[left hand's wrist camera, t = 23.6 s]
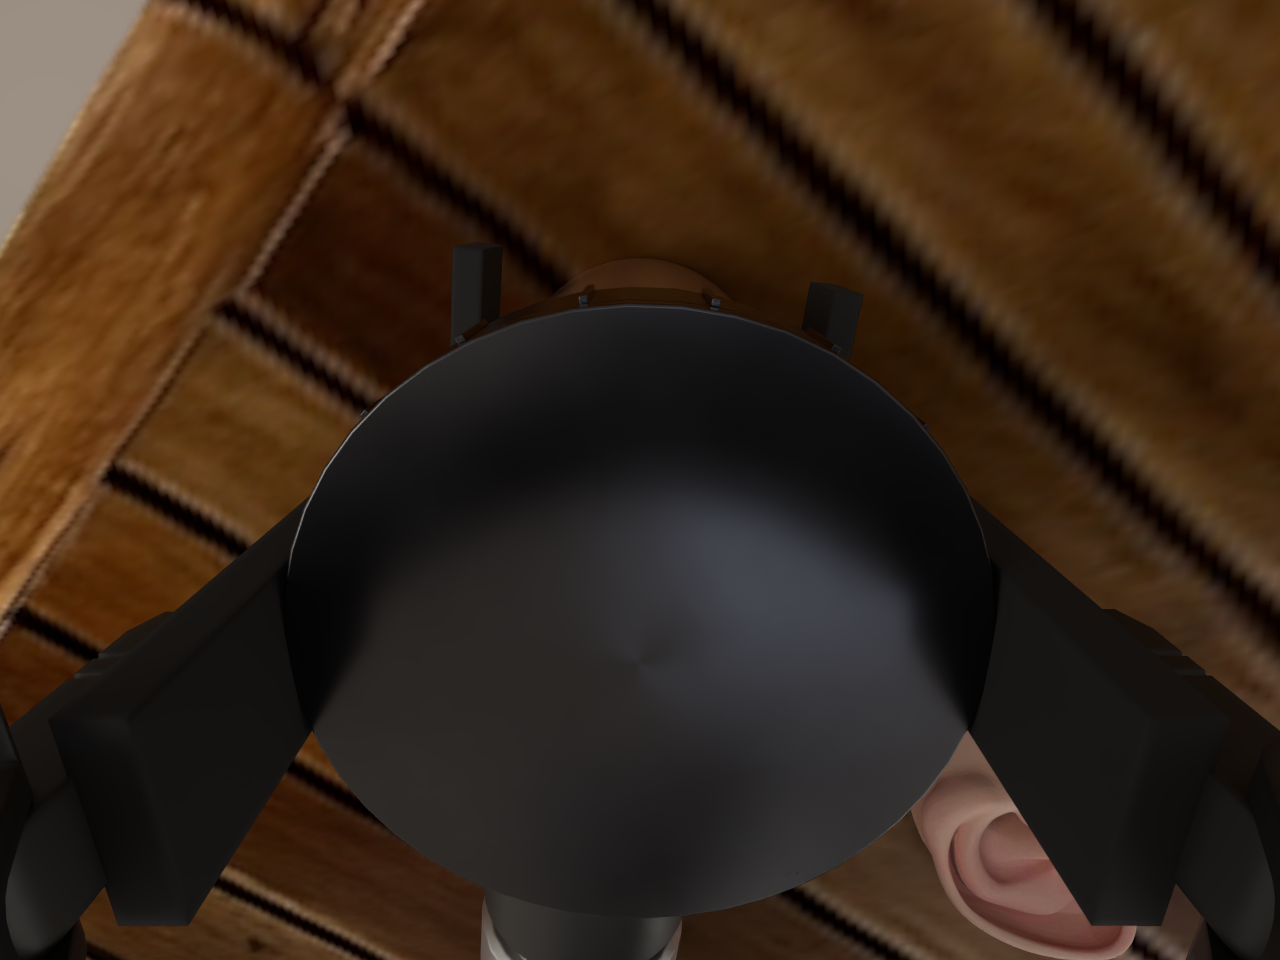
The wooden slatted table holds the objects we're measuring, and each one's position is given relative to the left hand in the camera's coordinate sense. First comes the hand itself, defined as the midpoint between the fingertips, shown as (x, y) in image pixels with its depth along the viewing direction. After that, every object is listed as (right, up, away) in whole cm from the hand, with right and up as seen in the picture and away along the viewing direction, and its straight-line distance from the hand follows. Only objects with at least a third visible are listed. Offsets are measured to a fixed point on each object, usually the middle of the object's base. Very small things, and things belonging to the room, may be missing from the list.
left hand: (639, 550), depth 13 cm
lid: (0, -1, -3) cm, 3 cm away
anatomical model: (+18, -13, +20) cm, 30 cm away
